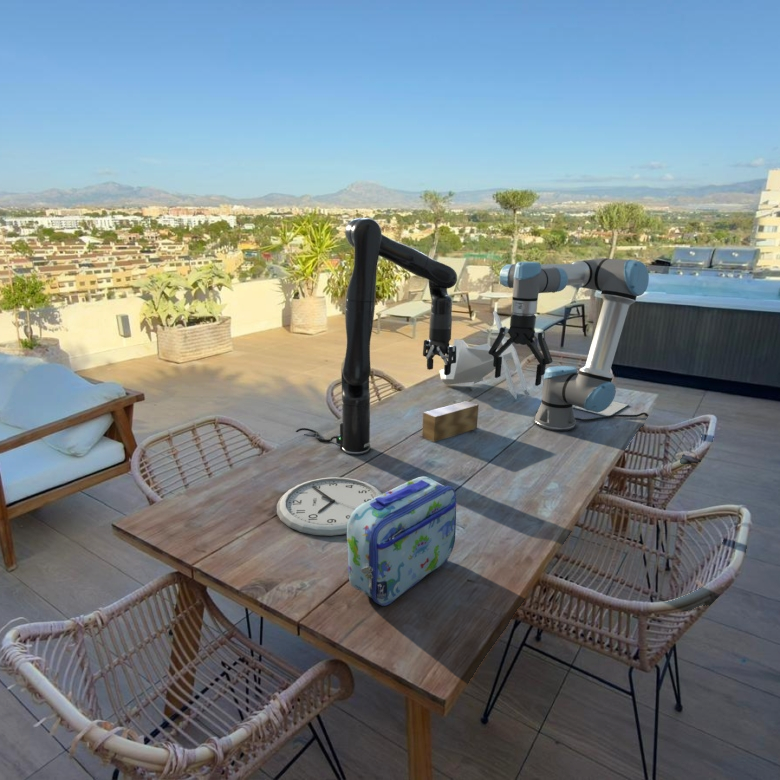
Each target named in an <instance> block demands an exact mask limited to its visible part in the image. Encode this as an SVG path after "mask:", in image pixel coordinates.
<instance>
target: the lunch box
mask: <svg viewBox="0 0 780 780" xmlns="http://www.w3.org/2000/svg"><path fill="white" fill-rule="evenodd" d="M456 524H457V494H456V490H455V488H454V487H453V486H451V485H444V484H441V483H440V482H438V481H436V480H434V479H432V478H431V477H428V476H422V475H421V476H419V477H416V478H413V479H411V480H408V481H407V482H404V483H402V484H400V485H398V486H396V487H394V488H392V489H390V490H388V491H386V492H383V494H381V495H380V496H378V497H376V498H374V499H372V500H370V501H368V502H365V503H363V504H362V505H360V506H358V507H357V508H356V509H355V510H354V511H353V513H352V514H351V516H350V518H349V521H348V525H347V534H346V545H347V546H346V548H347V570H348V572H347V573H348V581H349V583H350V585H351V587H353V588H354V589H356V590H358V591H361V592H362V593H364V594H365V595H366V596H368V597H369V598H371V599H372V601H373V602H374V603H375V604H378V605H379V606H383V607H386V606H388V605H390V604H392V603H394V601H396V600H397V599H398V598H399V597H400V596H402V595H403V594H404V593H406V592H407V591H408V590H410V589H411V588H413V587H414V586H415V585H417V584H418V583H419V582H421V580H422V579H424V577H426V576H427V575H430V573H432V572H434V571H435V570H436V569H438V568H440V567H441V566H442V565H444V563H446V562H447V561H448V559H449V558H450V556H451V554H452V552H453V549H454V546H455V542H456V529H457V525H456Z"/></svg>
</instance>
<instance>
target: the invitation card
mask: <svg viewBox="0 0 780 780" xmlns="http://www.w3.org/2000/svg"><path fill="white" fill-rule="evenodd" d="M628 406H629V404H627V403H623V402H618V401H614V400H613V401H612V403H611V404H610V405H609V407H607V408H606V409H605V410H604V411H601V412H594V411H589V410H586V409H584V408H581V407H578V406H574V407H573V409H575V410H581V411H584V412H587V413H593V414H596V415H600V416H603V417H604V416H609V415H615V414H616V413H617V412H619V411H621V410H623V409H624V408H626V407H628Z"/></svg>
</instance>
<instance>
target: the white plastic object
mask: <svg viewBox="0 0 780 780" xmlns="http://www.w3.org/2000/svg"><path fill="white" fill-rule="evenodd" d="M492 315H493V319H494V321H495V324H496V325H495V326H496V328H497V332H499V331H500V328H502V327H503V325H502V321H501V318H500V315H499V314H498V312H497V311H496V310H495V311H492ZM507 340H508V339H507V337H506V335H505V336H504V338H503V340H502V341H501V346H503V345H504V344H505V343H506V342H507ZM452 346H456V363H453V364H451V372H450V374H449V375H444V368H442V369H440V370H439V371H438V372H439V376H440V381H442V383H443V384H444V385H445V386H449V385H458V384H467V383H468V384H469V383H473V384H477V383H480V382H482V381H484V378H485V377H486V376H487V375H489V374H490V373H492V372H494V371H495V368H496V367H494V366H493V362H494V357H493V356H492V355H490V354H489V353H488V352H489V350H490V349H491V347H492V346H490V344H489V343H488V342H487V343H483V344H479V345H473V346H469V345H468V343H466V342H465V340H464V339H463V338H460V339H458V338H454V340H453V344H452ZM499 349H500V348H497V350H496V352H497V351H498V350H499ZM499 357H502V364H501V368H502V370H503V373H504V376H505V380H506V383H507V386H508V390H509V393H510V394H511V395H512V397H513V398H514V399H515V400H517V392H516V391H517V390H516V388H515V385H514V381H513V378H512V375H511V371H510V369H509V365H508V361H510V360H513V363H514V366H515V369H516V372H517V376H518V380H519V382H520V385H521V389H522V391H523V393H524V395H525V396H526V397H528V396H531V395H530V390H529V388H528V387H529V386H528V384H527V381H526V378H525V375H524V371H523V369H522V368H523V367H522V366H521V362H520V359H519V355H518V352H517V349H516V347H515V346H514V345H513V343H512V344H511V345H510V346H509V347H508V348H507V349H506V350H505V351H504V352H503V353H502V354H501V355H500V356H499ZM452 360H453V357H452Z"/></svg>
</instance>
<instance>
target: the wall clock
mask: <svg viewBox="0 0 780 780" xmlns="http://www.w3.org/2000/svg"><path fill="white" fill-rule="evenodd" d="M381 494H384V492H382V491H381V490H380V489H379V488H377V487H376V486H374V485H372V484H371V483H369V482H365V481H362V480H359V479H355V478H349V477H338V476H337V477H335V476H333V477H332V476H331V477H322V478H317V479H312V480H307V481H305V482H302V483H299V484H297V485H295V486H293V487H292V488H290V489H288V490H287V491H286V492H285V493H284V494H283V495H281V496H280V498H279V499H278V502H277V503H276V515H277V517H278V518H279V520H280V521H281V522H282V523H283V524H285V525H286V526H287V527H288V528H290V529H293V530H295V531H297V532H299V533H303V534H308V535H312V536H327V537H328V536H329V537H331V536H332V537H333V536H342V535H347V525H348V521H349V518H350V516H351V514H352V513H353V511H354V510H355V509H356V508H357V507H358V506H360V505H362V504H363V503H365V502H368V501H370V500H372V499H374V498H376V497H378V496H380V495H381Z"/></svg>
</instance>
